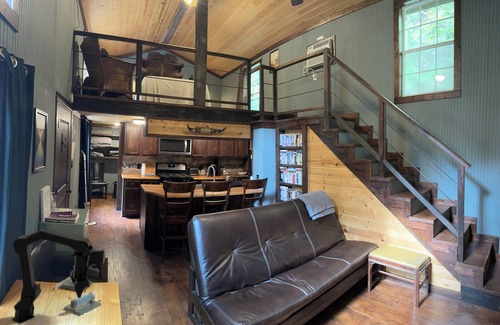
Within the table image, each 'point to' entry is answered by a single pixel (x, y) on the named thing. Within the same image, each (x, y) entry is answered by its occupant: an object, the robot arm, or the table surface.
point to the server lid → (83, 307)
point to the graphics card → (67, 284)
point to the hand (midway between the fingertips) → (78, 294)
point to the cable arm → (83, 299)
